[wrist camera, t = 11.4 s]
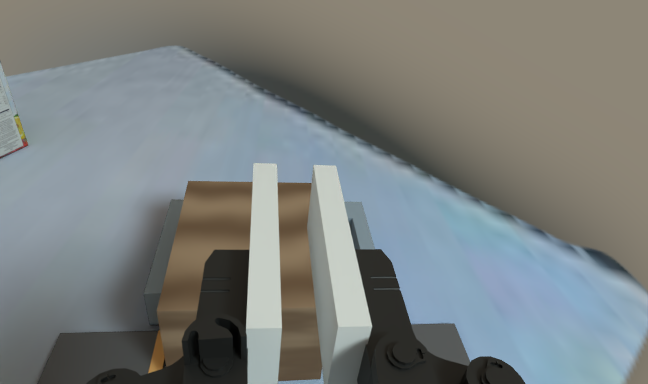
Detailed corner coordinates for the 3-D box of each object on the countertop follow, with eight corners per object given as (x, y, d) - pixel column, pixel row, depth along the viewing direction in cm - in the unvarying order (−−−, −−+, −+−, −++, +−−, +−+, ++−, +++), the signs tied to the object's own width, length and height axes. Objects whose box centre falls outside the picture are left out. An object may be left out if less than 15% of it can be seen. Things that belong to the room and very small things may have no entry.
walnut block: (320, 380, 38) (330, 307, 33) (169, 387, 36) (156, 311, 31) (305, 250, 51) (311, 183, 46) (194, 250, 49) (188, 181, 44)
